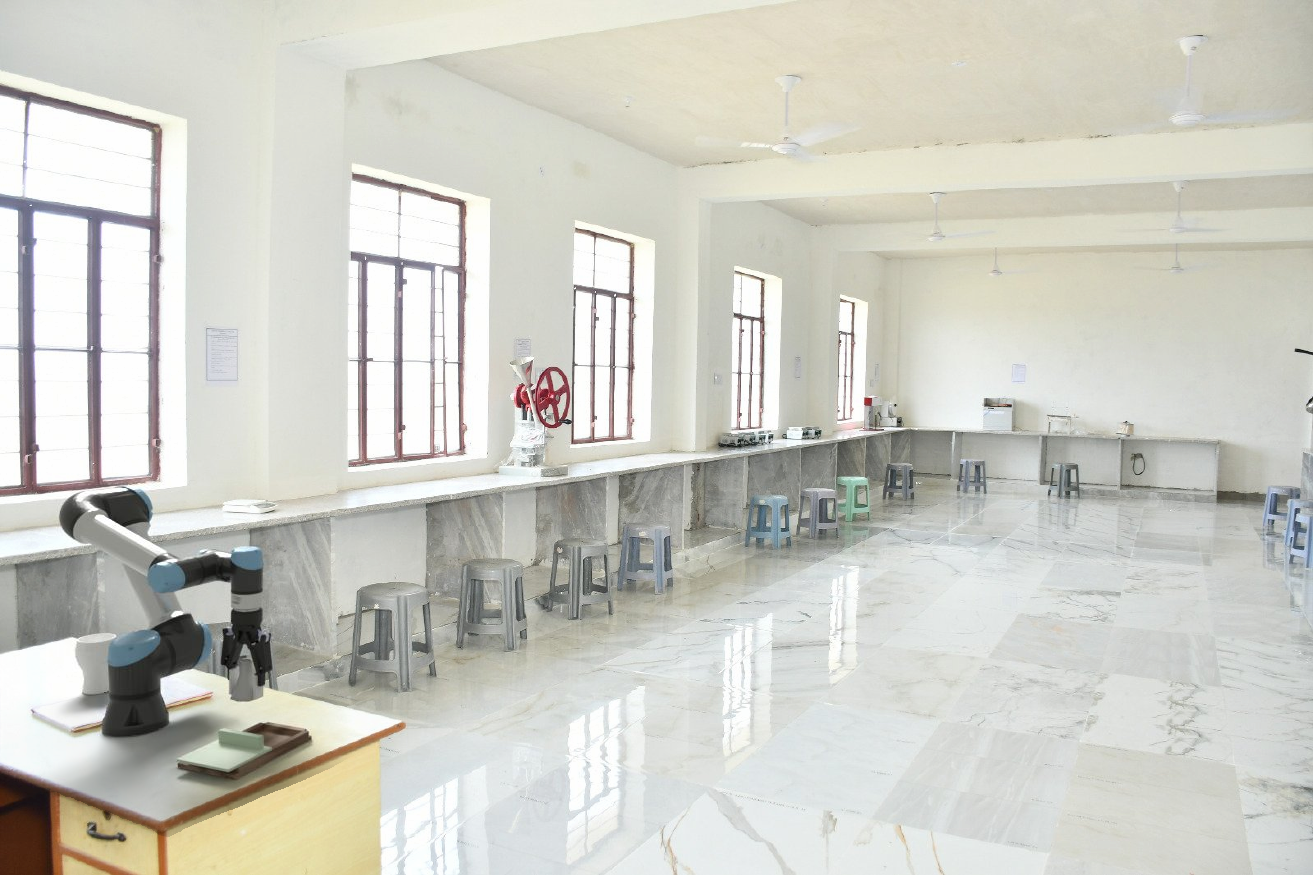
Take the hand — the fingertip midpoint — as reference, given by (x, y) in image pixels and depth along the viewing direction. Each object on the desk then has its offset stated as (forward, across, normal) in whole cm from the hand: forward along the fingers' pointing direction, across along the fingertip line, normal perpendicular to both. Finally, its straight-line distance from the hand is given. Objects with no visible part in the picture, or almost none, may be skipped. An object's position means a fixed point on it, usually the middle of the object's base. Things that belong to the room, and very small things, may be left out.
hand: (246, 695), depth 251 cm
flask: (+1, 0, 0) cm, 1 cm away
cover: (+5, +15, -22) cm, 27 cm away
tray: (+7, +14, -15) cm, 21 cm away
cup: (+10, -56, +4) cm, 57 cm away
